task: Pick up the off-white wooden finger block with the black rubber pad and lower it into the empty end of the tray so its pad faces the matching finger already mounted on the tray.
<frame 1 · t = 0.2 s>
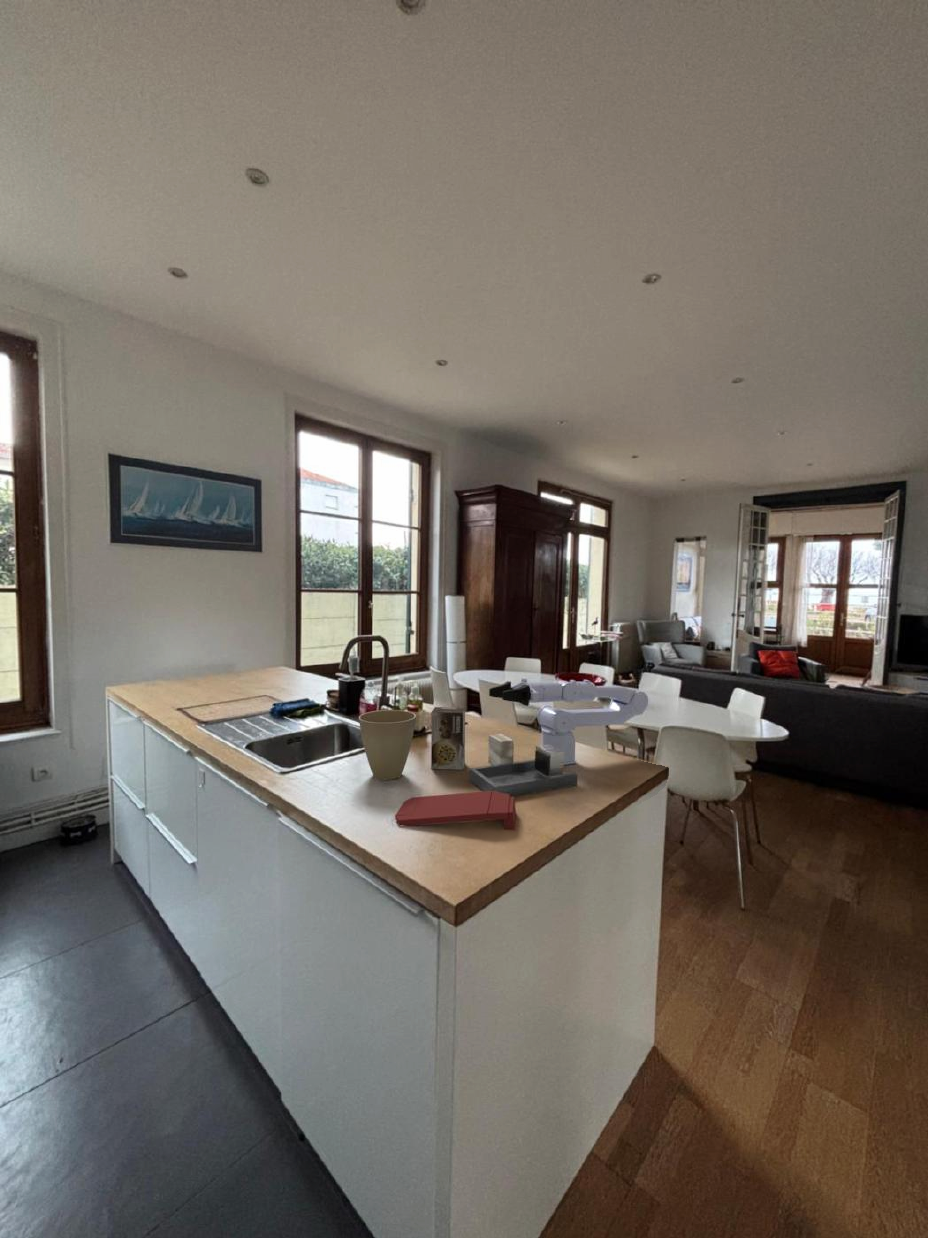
hand: (496, 694, 138), 21 cm above the table, tool horizontal, fingers open, 7 cm apart
red bent plate: (456, 819, 109), on the table
food box: (448, 766, 142), on the table
tray: (522, 782, 130), on the table
plant pot: (386, 776, 133), on the table
finger block: (500, 765, 143), on the table
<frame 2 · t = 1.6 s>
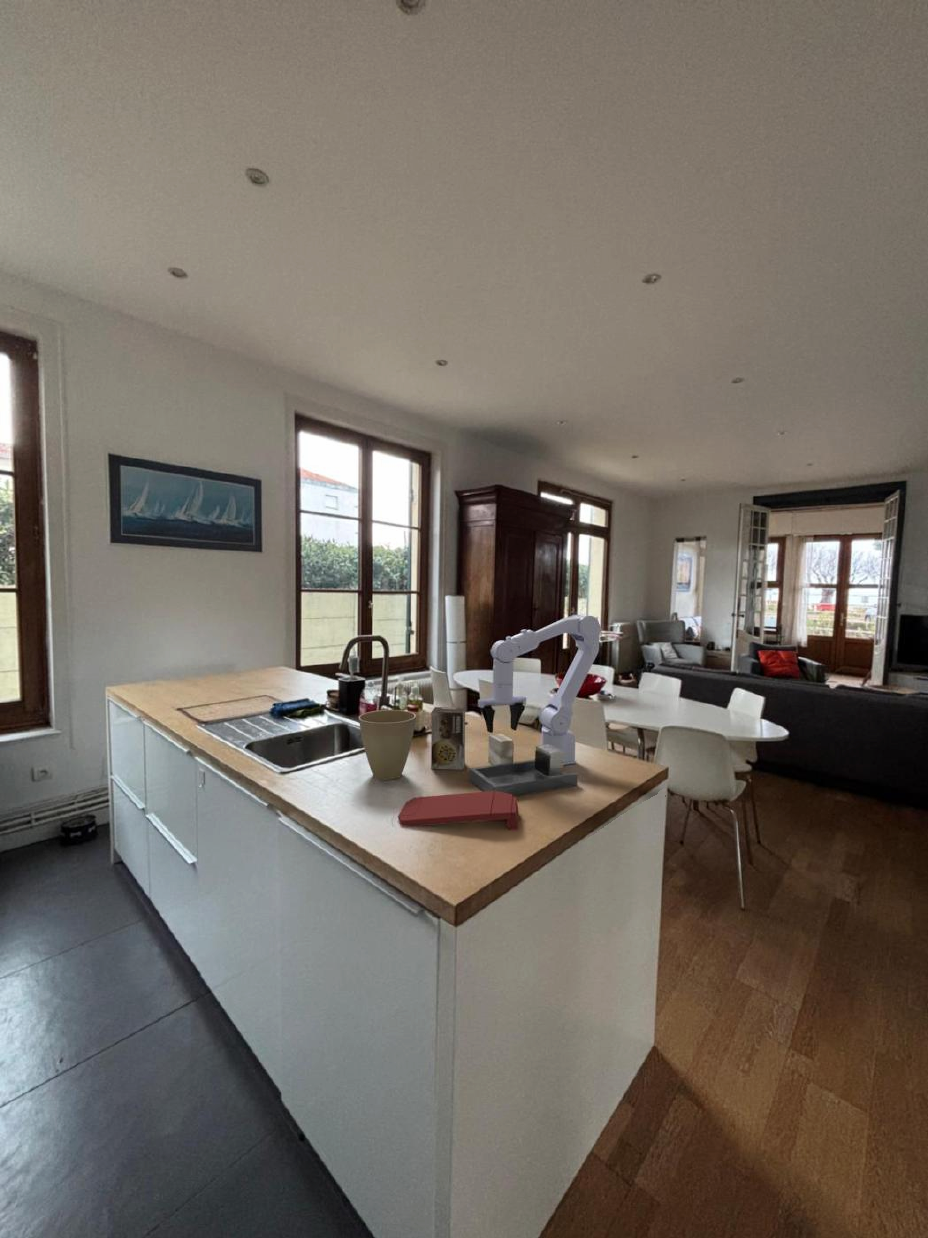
hand: (501, 730, 143), 10 cm above the table, tool pointing down, fingers open, 7 cm apart
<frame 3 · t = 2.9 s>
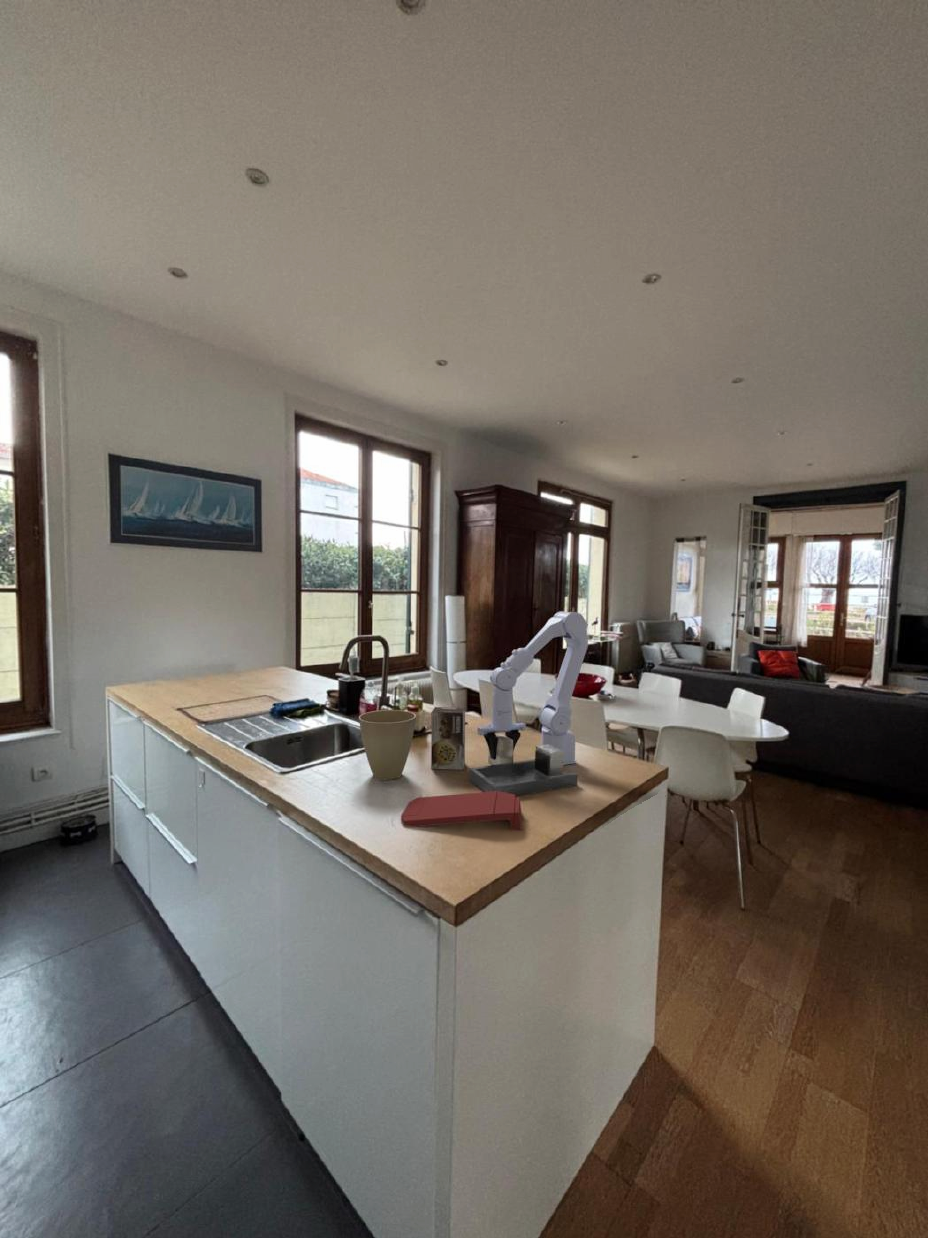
hand: (501, 757, 143), 2 cm above the table, tool pointing down, fingers closed on finger block, 5 cm apart
finger block: (500, 765, 143), on the table, touching gripper
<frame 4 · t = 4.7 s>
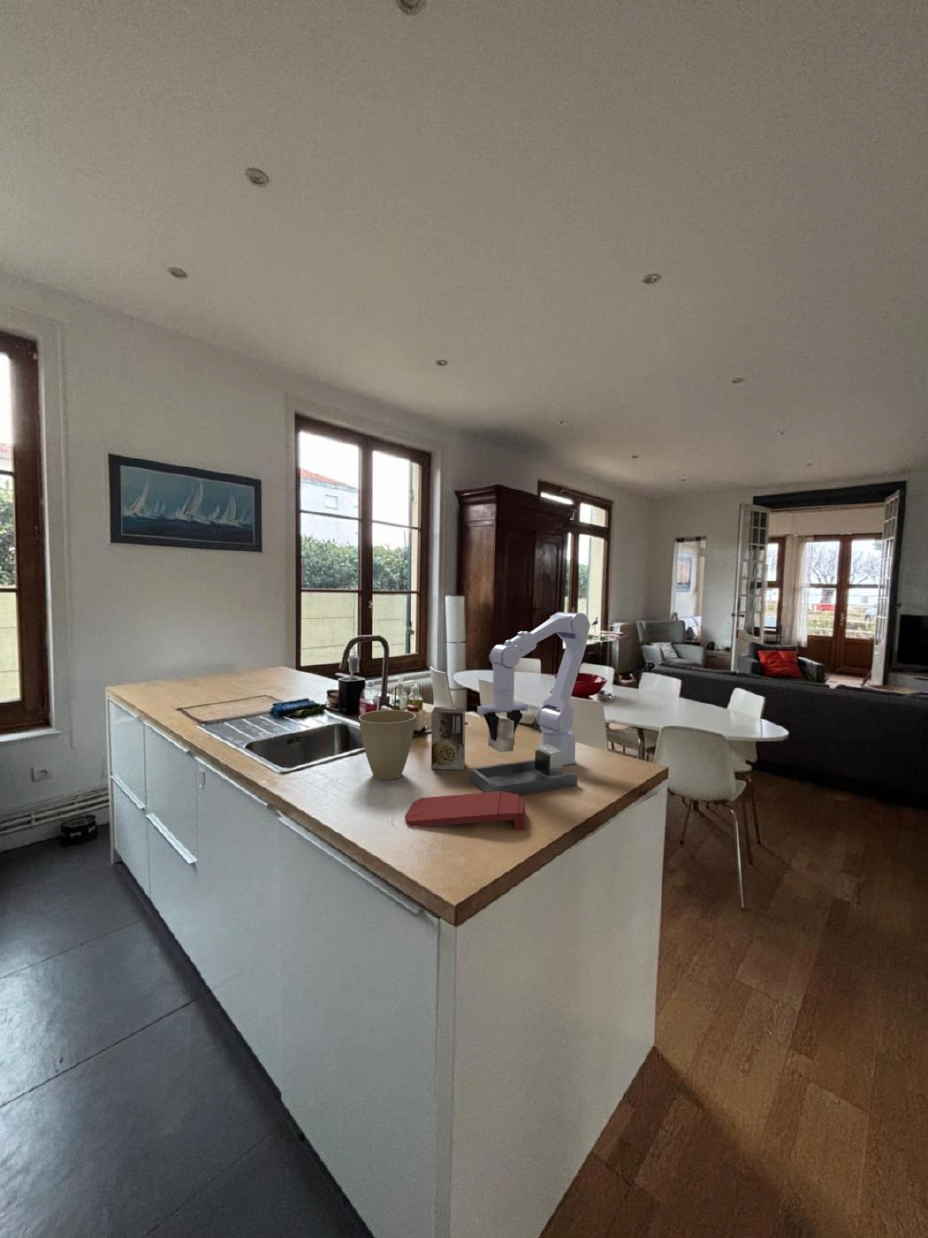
hand: (502, 738, 137), 9 cm above the table, tool pointing down, fingers closed on finger block, 5 cm apart
finger block: (500, 748, 137), point 7 cm above the table, touching gripper
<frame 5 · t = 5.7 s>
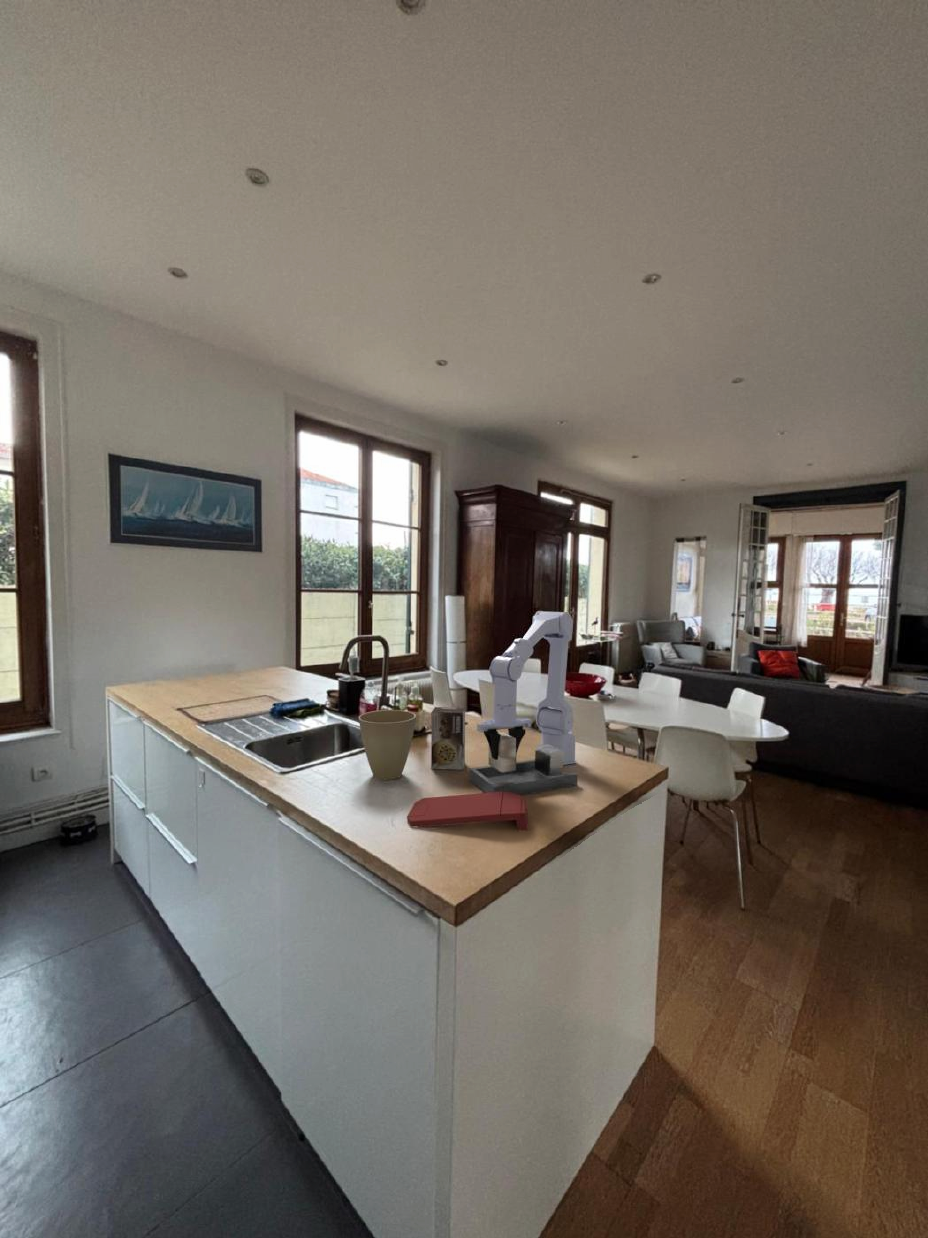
hand: (503, 757, 127), 7 cm above the table, tool pointing down, fingers closed on finger block, 5 cm apart
finger block: (501, 767, 127), point 5 cm above the table, touching gripper
when the fingers open (5 cm above the table, at t = 6.6 s): finger block drops 1 cm, resting on tray.
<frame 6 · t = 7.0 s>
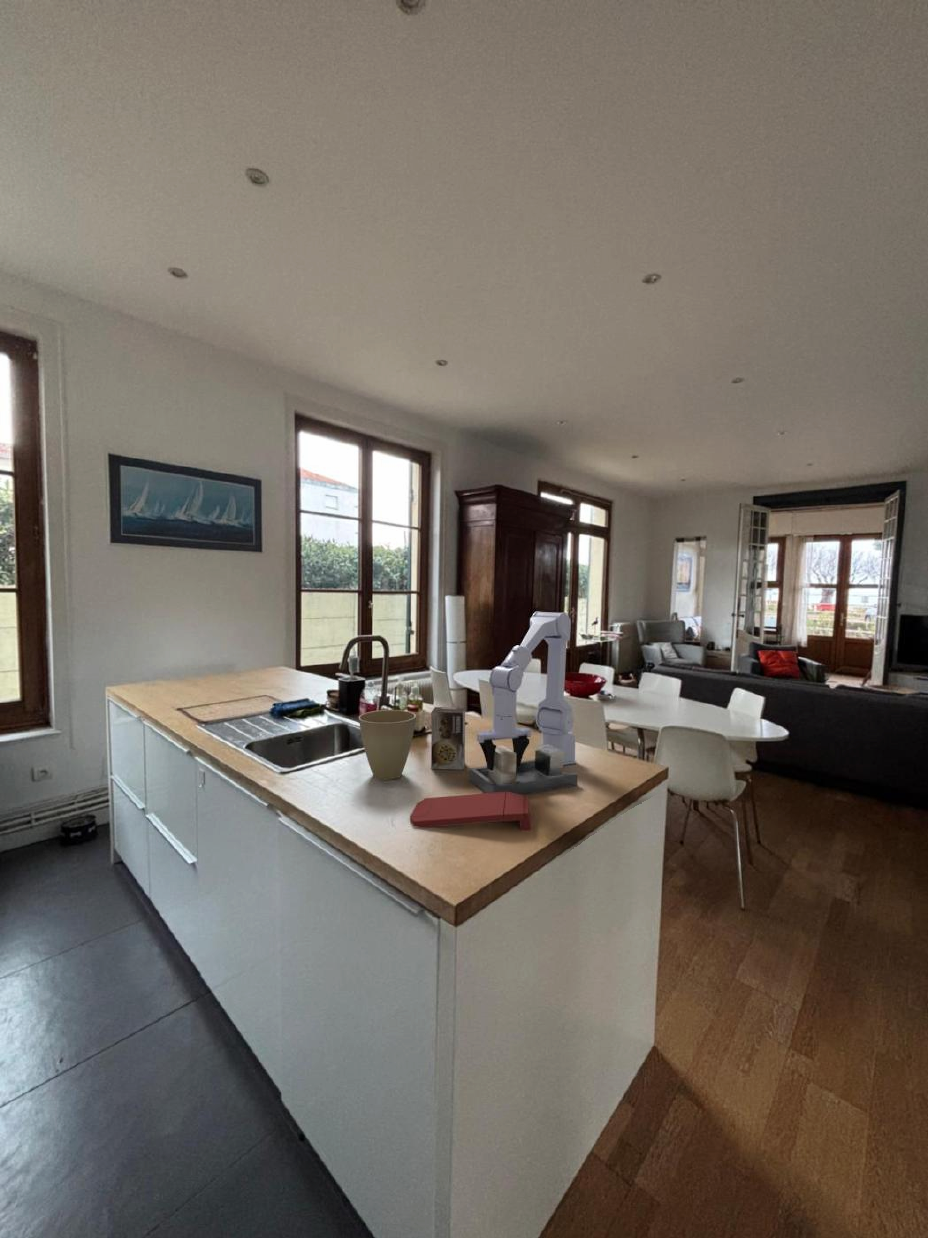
hand: (503, 767, 127), 5 cm above the table, tool pointing down, fingers open, 7 cm apart
finger block: (501, 781, 128), point 1 cm above the table, touching tray
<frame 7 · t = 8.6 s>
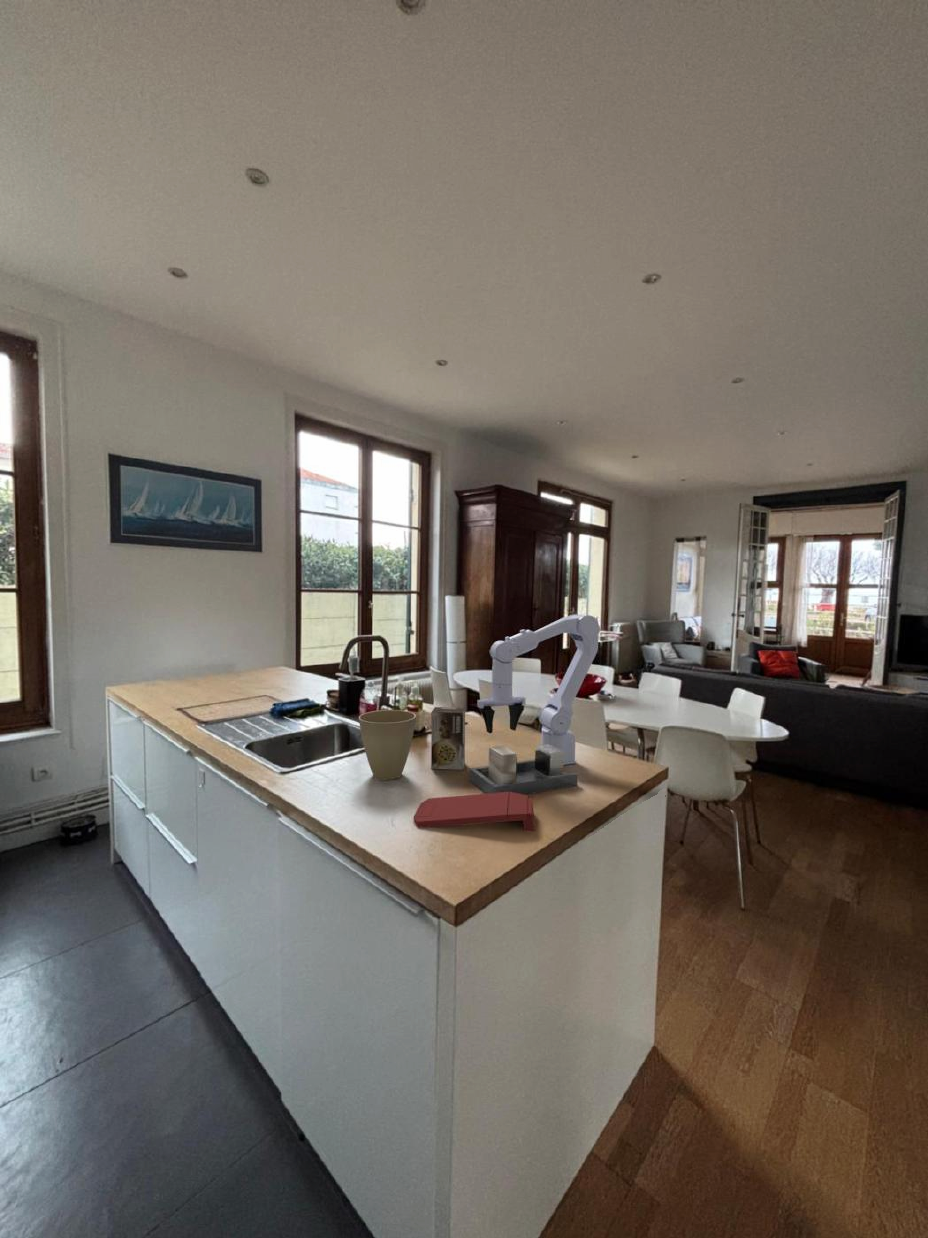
hand: (501, 731, 142), 10 cm above the table, tool pointing down, fingers open, 7 cm apart
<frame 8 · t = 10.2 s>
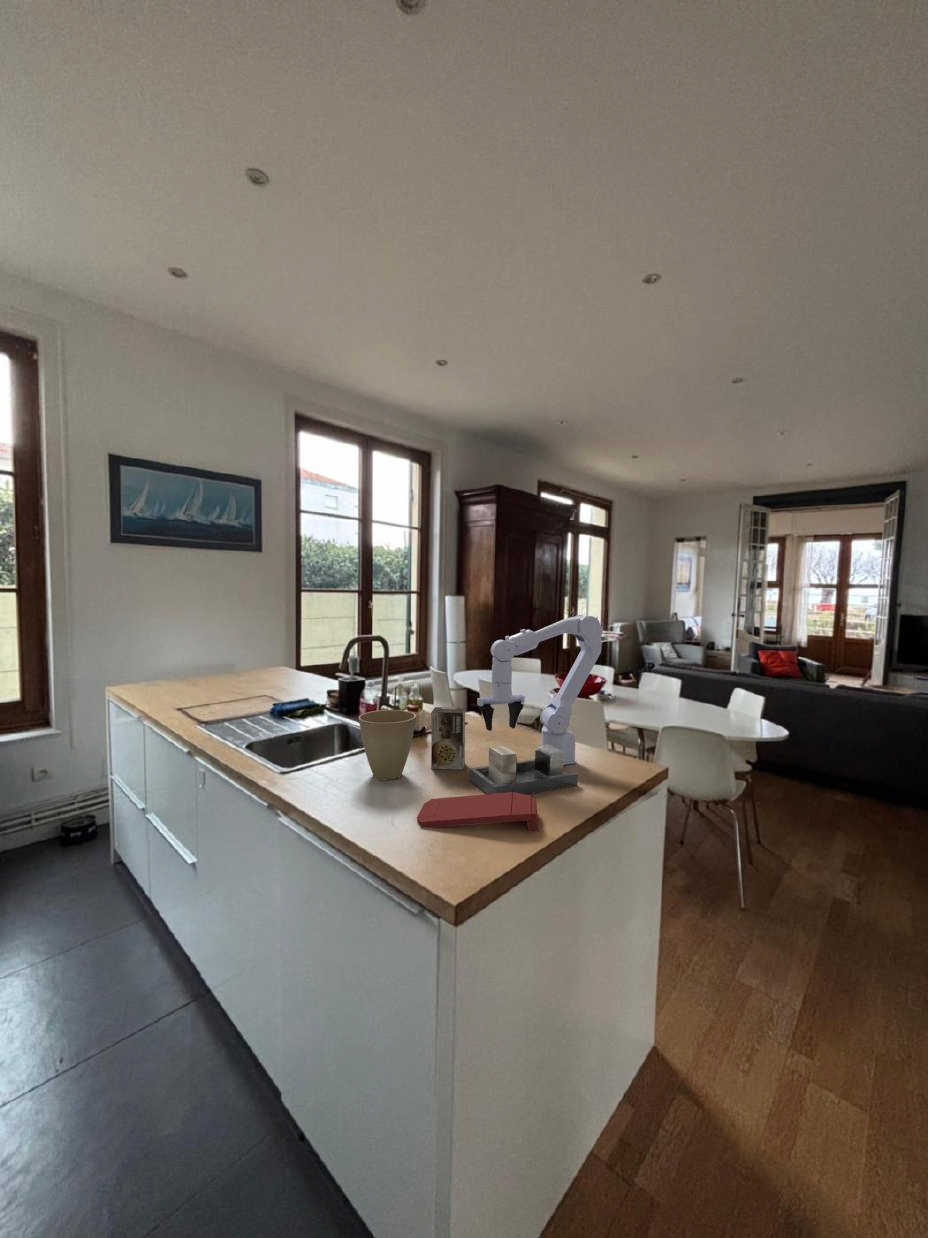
hand: (500, 728, 145), 10 cm above the table, tool pointing down, fingers open, 7 cm apart
at the end: finger block 0.3 cm from the target spot on the tray, point 1.0 cm above the tray's base; finger block tilted 0°; the gripper is holding nothing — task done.
